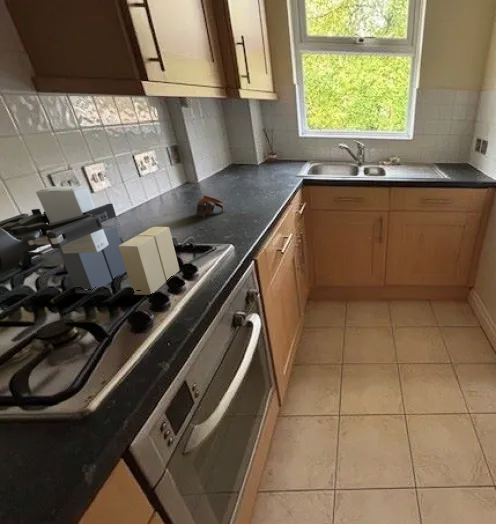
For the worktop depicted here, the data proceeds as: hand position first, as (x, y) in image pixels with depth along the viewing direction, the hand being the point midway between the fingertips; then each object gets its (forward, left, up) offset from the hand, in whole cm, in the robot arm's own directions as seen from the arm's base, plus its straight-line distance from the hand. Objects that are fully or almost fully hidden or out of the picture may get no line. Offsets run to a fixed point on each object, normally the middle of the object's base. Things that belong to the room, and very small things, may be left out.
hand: (94, 209), depth 66 cm
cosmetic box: (0, -5, -7) cm, 8 cm away
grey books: (-9, +7, -20) cm, 23 cm away
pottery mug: (-7, +62, -20) cm, 66 cm away
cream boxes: (+4, +7, -20) cm, 21 cm away
